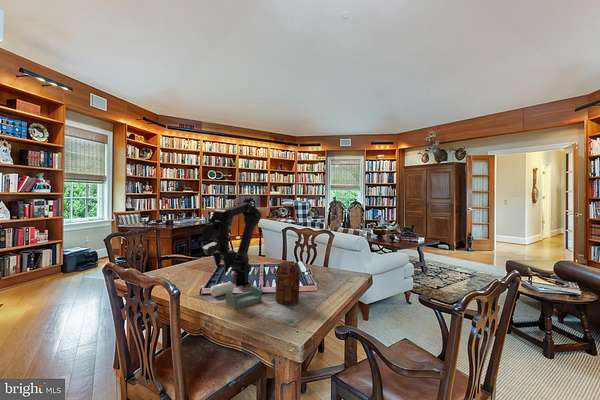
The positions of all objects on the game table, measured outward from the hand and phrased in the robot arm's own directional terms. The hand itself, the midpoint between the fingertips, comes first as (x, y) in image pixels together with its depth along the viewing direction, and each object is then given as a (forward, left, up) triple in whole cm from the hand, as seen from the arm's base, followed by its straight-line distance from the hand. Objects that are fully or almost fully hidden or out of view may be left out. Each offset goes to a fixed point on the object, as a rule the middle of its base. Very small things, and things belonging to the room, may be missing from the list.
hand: (221, 269), depth 133 cm
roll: (0, 0, -12) cm, 12 cm away
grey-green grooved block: (-4, +14, -11) cm, 19 cm away
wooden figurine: (-19, +25, -12) cm, 34 cm away
